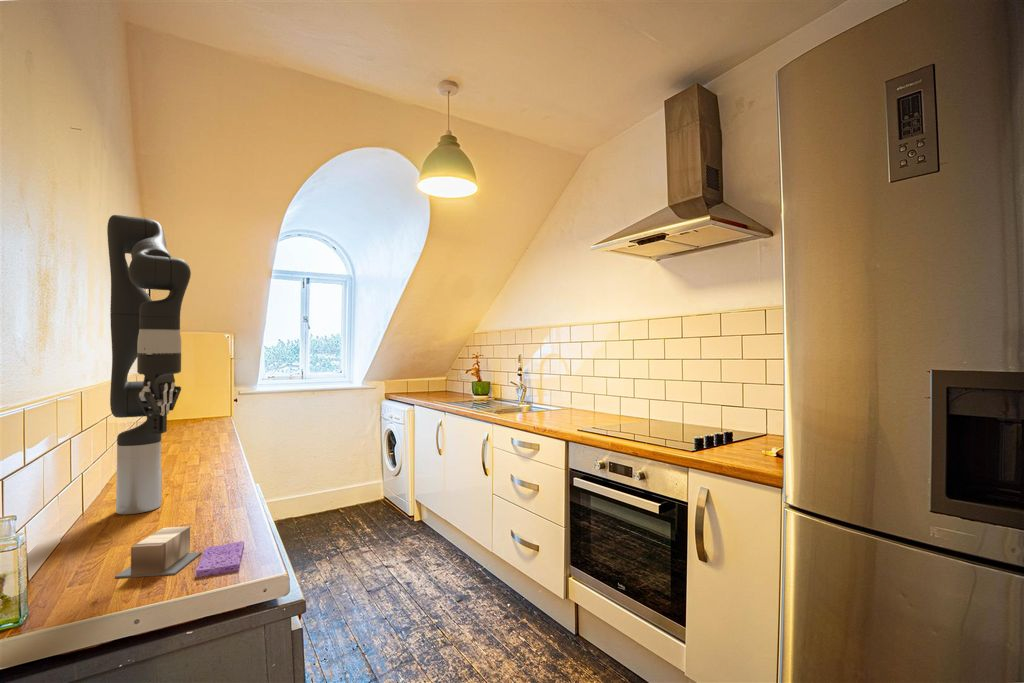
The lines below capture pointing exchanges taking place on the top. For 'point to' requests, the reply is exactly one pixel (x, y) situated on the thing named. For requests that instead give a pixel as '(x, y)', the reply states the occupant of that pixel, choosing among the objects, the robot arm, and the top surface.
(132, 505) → the robot arm
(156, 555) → the birch block
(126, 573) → the mat
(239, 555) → the sponges
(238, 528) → the top surface
